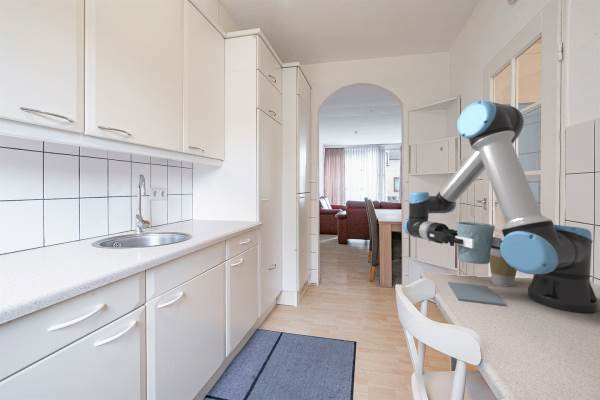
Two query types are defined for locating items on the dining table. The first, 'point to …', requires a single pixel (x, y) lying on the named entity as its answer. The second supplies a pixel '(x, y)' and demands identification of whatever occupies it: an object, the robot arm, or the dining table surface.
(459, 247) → the embossed teal cup
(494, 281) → the coffee cup
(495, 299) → the slate mat
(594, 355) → the dining table surface
